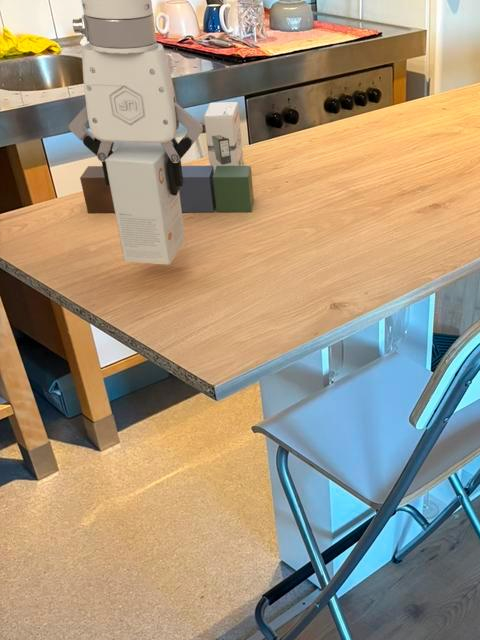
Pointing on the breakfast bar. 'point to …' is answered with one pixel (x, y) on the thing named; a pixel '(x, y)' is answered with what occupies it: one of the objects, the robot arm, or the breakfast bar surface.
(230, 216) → the breakfast bar surface
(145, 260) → the small box
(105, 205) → the block
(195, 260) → the breakfast bar surface
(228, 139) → the ink box
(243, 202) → the block
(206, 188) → the block
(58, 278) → the breakfast bar surface
